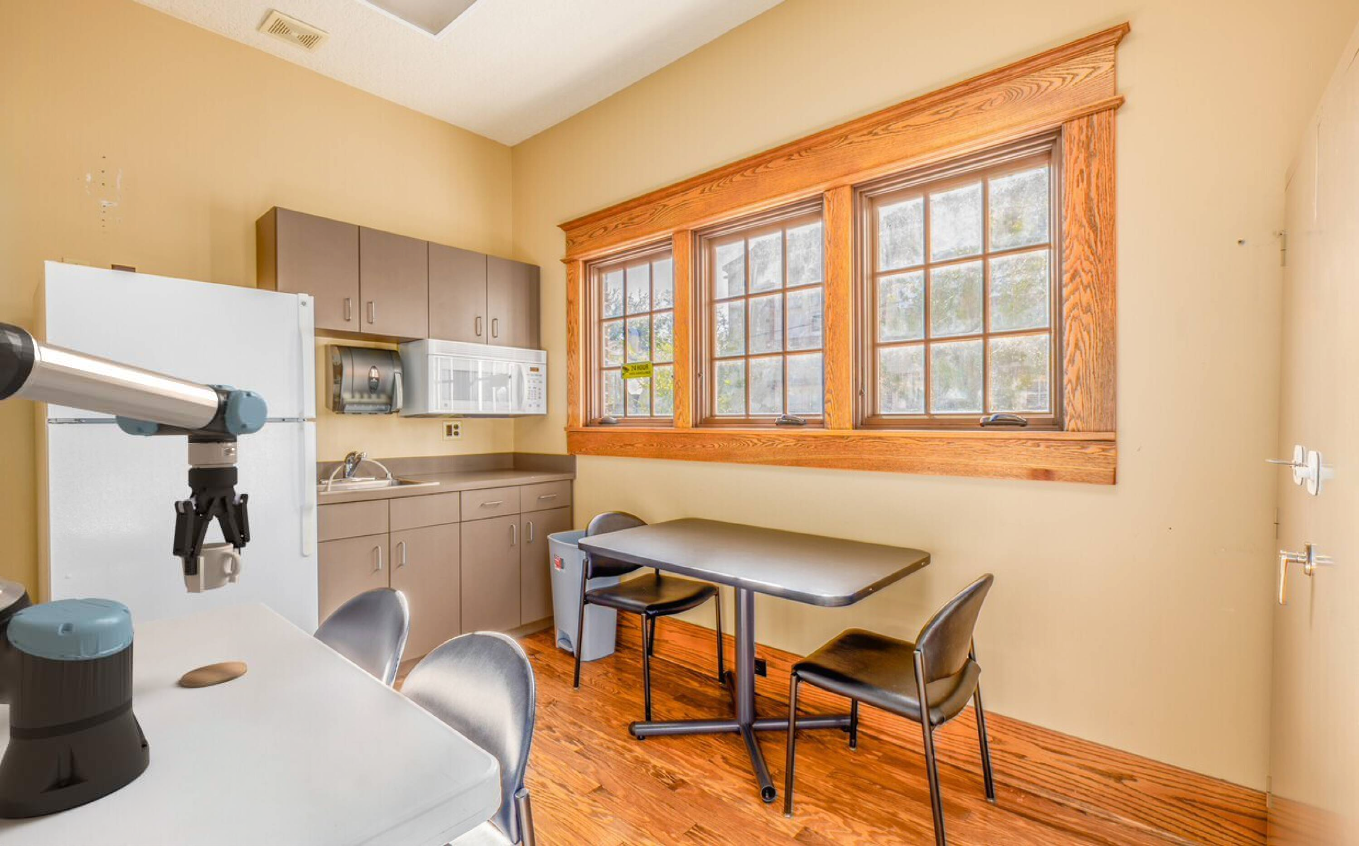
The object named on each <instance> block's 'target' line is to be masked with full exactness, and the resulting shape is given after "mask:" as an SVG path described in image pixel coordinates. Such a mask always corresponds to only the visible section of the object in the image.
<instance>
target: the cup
mask: <svg viewBox="0 0 1359 846" xmlns="http://www.w3.org/2000/svg"><path fill="white" fill-rule="evenodd" d="M192 550H193V549H192ZM199 556H204V591H210V590H217V589H220V588H222V587H224V586H226V585H227V584H228V583H229V582H228V581H229V577H233V576H236V575H238V574H239V575H240V572H241V570H242V567H243V560H242V559H243V558H242V555H239V554H238V553H236V552H233V544H232V543H226V541H224V542H222V541H221V542H207V543H203V545H202V548H201V551H200V555H199ZM199 556H198V557H199ZM180 558H181V566H182V573H183V580H184V586H185V587H186V589H187V575H185V562H184V558H183V557H180ZM232 559H233V560H234V564H235V566H234V570H233V572H231V571H230V569H231V560H232Z"/></svg>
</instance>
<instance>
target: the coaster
mask: <svg viewBox="0 0 1359 846" xmlns="http://www.w3.org/2000/svg"><path fill="white" fill-rule="evenodd" d="M247 671H248V665H247V664H246V663H245V662H243V661H242V662H241V661H226V662H218V663H213V664H208V665H204V666H201V667H198V668H194V669H192V670H190V671H187V672H185V674H183V675H181V678H180V685H181V686H183V687H187V688H201V687H209V686H214V685H219V684H223V683H226V682H229V681H233V680H234V679H237V678H240V677H242V676H243V675H244V674H246V673H247Z"/></svg>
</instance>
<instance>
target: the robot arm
mask: <svg viewBox="0 0 1359 846" xmlns="http://www.w3.org/2000/svg"><path fill="white" fill-rule="evenodd" d="M13 398H16V399H22V400H28V401H33V402H39V403H44V404H50V405H54V406H61V407H66V408H73V409H78V410H84V411H88V412H89V411H90V412H95V413H99V414H100V413H101V414H107V415H111V416H115V422H116V423H117V426H118V427H119V428H120V430H121V431H123V432H124V433H126V434H128V435H131V436H143V437H146V438H147V437H152V436H153V437H155V436H163V437H164V436H187V443H188V444H187V452H188V453H187V458H188V459H187V464H188V465H189V466H191V467H190V468H189V469H188V470H187V475H188V476H187V485H188V487H189V488H190V489H191V493H190V496H189V498H187V499H185V500H176V501H175V502H174V509H175V513H176V516H175V517H176V518H175V525H174V526H175V528H174V538H173V546H172V555H173V556H174V557H179V558H181V557H183V558H184V562H185V575H187V588H186V592H187V593H191V594H192V593H194V594H196V593H197V594H200V593H204V592H205V590H204V556H199V555H200V551H201V548H202V545H203V544H204V542H205V541H204V540H205V539H206V534H207V531H208V529H209V525H210V523H211V521H213V519H214V518H216V519H217V521H218V523H219V526H220V530H221V533H222V535H223V538H224V542H225V543H232V544H233V552H236V553H238V554H239V555H240V556H242V553H241V551H242V550H241V549H242V548H246V546H247V543H250V542H251V534H250V532H251V531H250V524H249V513H248V501H249V494H248V493H236V489H235V486H236V485H238V482H239V481H238V479H239V478H238V477H239V476H238V475H239V473H238V472H239V471H238V467H237V466H236V465H235V466H234V464H237V463H238V436H242V435H250V434H255V433H256V432H259V431H260V430H261V429H263V427H264V426H265V424H266V422H267V419H268V418H267V417H268V412H269V411H268V406H267V403H266V402H265V400H264V398H263V397H262V396H261V395H260V394H259V393H257V392H255V391H253V390H242V389H236V388H234V387H233V386H231V385H226V384H209V383H208V384H203V383H199V382H196V381H192V380H188V379H185V378H181V377H176V376H173V375H169V374H165V373H161V372H157V371H154V370H151V369H147V368H142V367H139V366H137V365H136V366H135V365H131V364H129V363H128V364H127V363H124V362H120V361H116V360H114V359H113V360H112V359H109V358H105V357H101V356H97V355H93V354H90V353H86V352H83V351H79V350H74V349H71V348H67V347H63V346H60V345H56V344H52V343H48V342H45V341H40V340H38V339H35V337H34V336H33V335H32V334H31V332H29V330H27V329H25V328H23V327H20V326H16V325H13V324H9V323H6V322H4V321H3V322H2V321H0V403H2V402H5V401H9V400H10V399H13ZM192 549H193V550H192ZM198 556H199V557H198ZM234 566H235V564H234V560H233V559H232V560H231V569H230V571H231V572H233V570H234ZM239 578H240V573H239V574H238V575H236V576H233V577H229V581H228V583H234V584H235V583H238V582H239V581H240V579H239ZM134 635H135V629H134V628H133V621H132V614H131V610H130V609H129V608H128V607H127V606H126V605H125V604H124V603H121V602H119V601H116V600H114V599H113V600H112V599H106V598H99V597H97V598H95V597H93V598H92V597H88V598H87V597H86V598H82V599H77V598H67V599H59V600H52V601H46V602H41V603H38V604H33V602H32V599H31V597H30V594H29V593H28V591H27V589H26V587H25V586H24V584H23V583H20V582H16V581H11V580H5V579H3V578H2V575H0V705H8V706H9V707H8V708H9V709H8V711H9V712H8V715H9V717H8V719H9V740H8V744H7V746H6V749H5V751H4V753H3V757H2V759H1V761H0V818H2V819H3V818H4V819H20V818H30V817H37V816H42V815H47V814H50V813H51V814H52V813H56V812H60V811H64V810H67V809H70V808H74V807H77V806H80V805H83V804H86V803H88V802H92V801H94V800H97V799H99V798H101V797H104V796H106V795H108V794H111V793H112V792H114V791H117V790H119V789H121V788H122V787H124V786H126V785H127V784H130V783H131V782H133V781H134V780H136V779H137V778H138V777H139V776H141V775H142V774H143V773H144V772H145V771H146V769H148V767H149V765H150V759H151V757H150V754H151V753H150V745H149V742H148V740H147V739H146V736H145V734H144V732H143V729H142V727H141V725H140V723H139V721H138V718H137V717H136V715H135V712H134V710H133V709H134V707H133V705H134V704H133V690H134V688H133V684H134V683H133V682H134V681H133V679H134V678H133V677H134V638H135V637H134Z"/></svg>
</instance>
